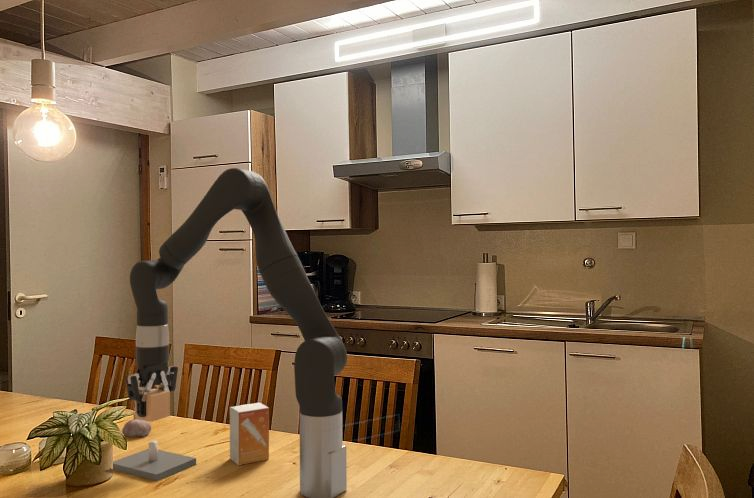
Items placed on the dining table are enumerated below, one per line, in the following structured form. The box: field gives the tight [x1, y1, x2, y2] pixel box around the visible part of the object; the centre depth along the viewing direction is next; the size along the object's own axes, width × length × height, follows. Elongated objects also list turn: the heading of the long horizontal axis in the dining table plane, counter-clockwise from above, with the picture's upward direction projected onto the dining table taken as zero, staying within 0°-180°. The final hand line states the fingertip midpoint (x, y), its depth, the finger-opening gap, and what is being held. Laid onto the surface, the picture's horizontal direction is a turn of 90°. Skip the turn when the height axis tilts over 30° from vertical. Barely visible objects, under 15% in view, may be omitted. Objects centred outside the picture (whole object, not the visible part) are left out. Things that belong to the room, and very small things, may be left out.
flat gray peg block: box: [112, 439, 197, 482], centre depth 147 cm, size 16×12×6 cm
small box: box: [229, 401, 270, 466], centre depth 152 cm, size 8×6×13 cm
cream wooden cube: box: [134, 388, 171, 423], centre depth 147 cm, size 6×6×6 cm
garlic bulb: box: [121, 407, 152, 437], centre depth 172 cm, size 8×7×8 cm
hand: (152, 413), depth 147 cm, fingers closed on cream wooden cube, 5 cm apart
